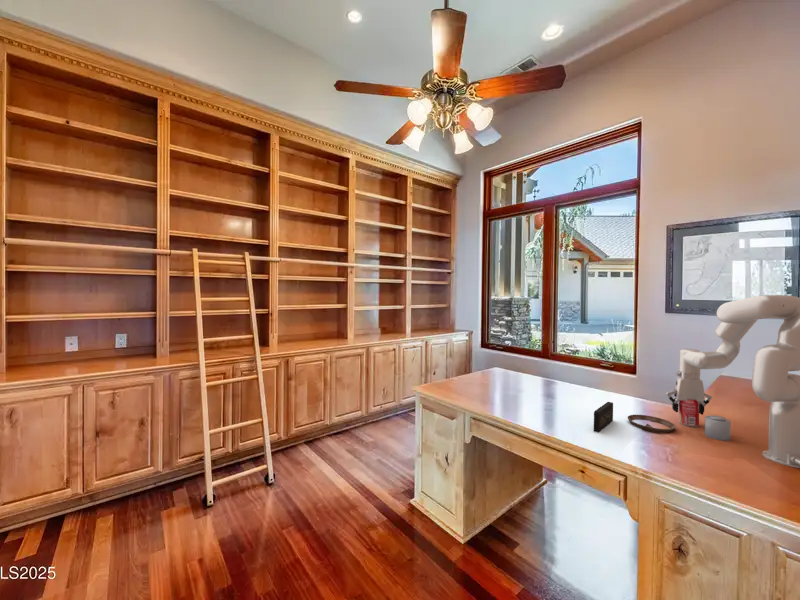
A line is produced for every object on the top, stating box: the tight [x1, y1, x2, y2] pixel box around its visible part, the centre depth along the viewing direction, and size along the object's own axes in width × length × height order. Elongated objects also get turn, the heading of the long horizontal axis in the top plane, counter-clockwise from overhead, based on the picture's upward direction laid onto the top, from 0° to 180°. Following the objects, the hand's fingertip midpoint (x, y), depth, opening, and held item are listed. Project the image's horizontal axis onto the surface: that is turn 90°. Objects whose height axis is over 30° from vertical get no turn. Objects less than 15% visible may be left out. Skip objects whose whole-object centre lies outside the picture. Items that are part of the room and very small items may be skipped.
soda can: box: [678, 399, 700, 428], centre depth 160 cm, size 7×7×13 cm
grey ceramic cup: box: [704, 414, 732, 442], centre depth 146 cm, size 8×8×9 cm
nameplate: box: [593, 401, 614, 433], centre depth 156 cm, size 21×2×10 cm, turn 134°
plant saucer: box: [626, 414, 676, 434], centre depth 158 cm, size 18×18×3 cm
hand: (687, 412), depth 161 cm, fingers open, 9 cm apart
